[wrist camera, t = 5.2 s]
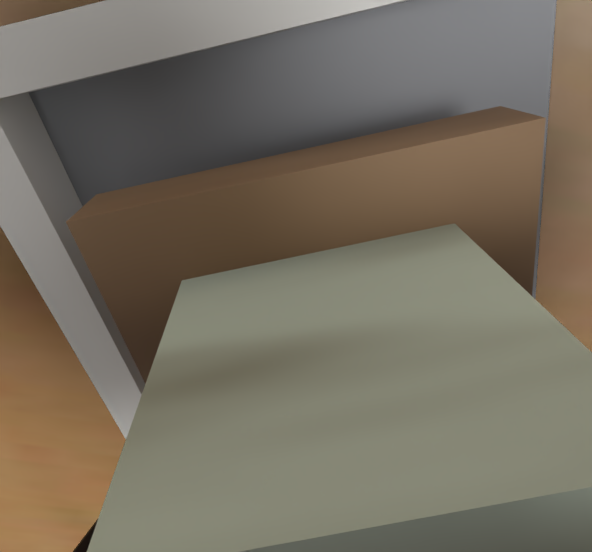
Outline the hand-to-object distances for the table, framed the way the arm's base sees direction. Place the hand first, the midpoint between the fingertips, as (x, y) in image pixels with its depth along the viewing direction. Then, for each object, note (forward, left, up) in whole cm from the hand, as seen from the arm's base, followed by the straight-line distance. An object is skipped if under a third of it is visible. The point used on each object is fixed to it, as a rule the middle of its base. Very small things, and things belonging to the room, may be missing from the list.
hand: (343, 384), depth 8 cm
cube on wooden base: (0, 0, -2) cm, 2 cm away
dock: (0, 0, -6) cm, 6 cm away
